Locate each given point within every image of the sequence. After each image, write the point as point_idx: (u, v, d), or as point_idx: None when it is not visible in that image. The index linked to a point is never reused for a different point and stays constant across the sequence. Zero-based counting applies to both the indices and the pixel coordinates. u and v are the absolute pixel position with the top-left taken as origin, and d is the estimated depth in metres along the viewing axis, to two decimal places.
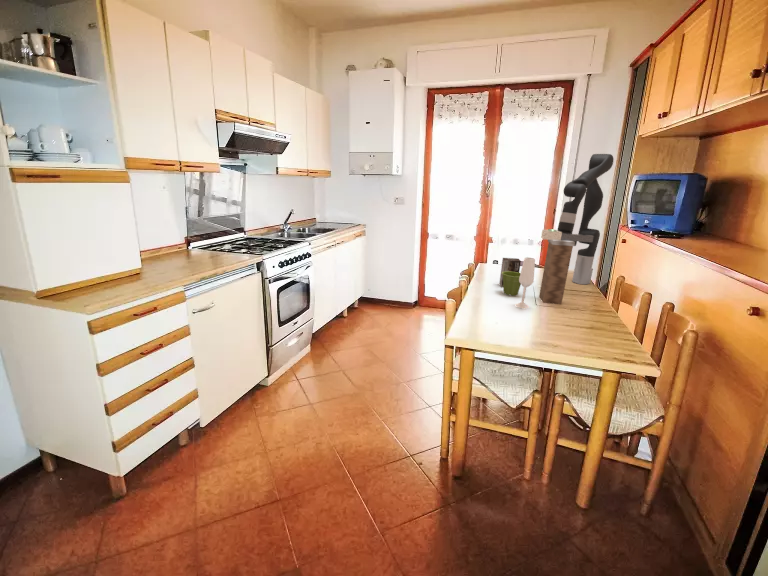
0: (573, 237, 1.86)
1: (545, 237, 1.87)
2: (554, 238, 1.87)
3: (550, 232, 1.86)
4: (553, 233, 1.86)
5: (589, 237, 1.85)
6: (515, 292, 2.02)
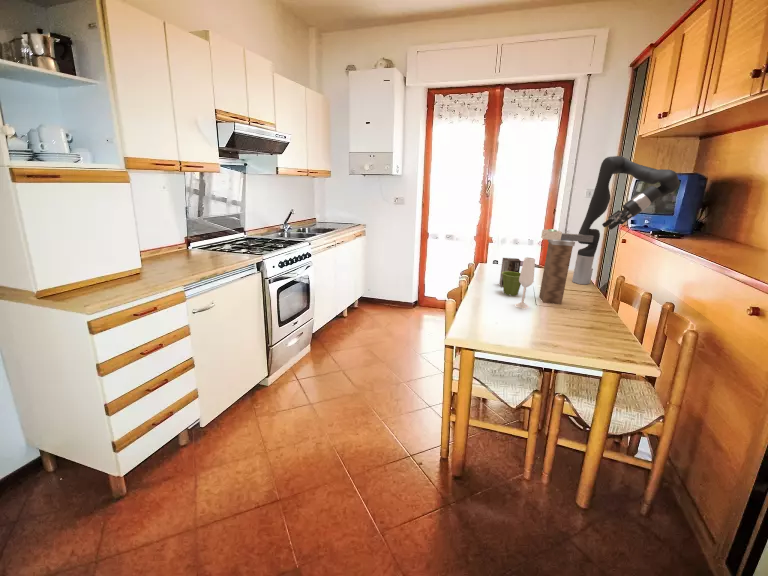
0: (573, 237, 1.86)
1: (545, 237, 1.87)
2: (554, 238, 1.87)
3: (550, 232, 1.86)
4: (553, 233, 1.86)
5: (589, 237, 1.85)
6: (515, 292, 2.02)
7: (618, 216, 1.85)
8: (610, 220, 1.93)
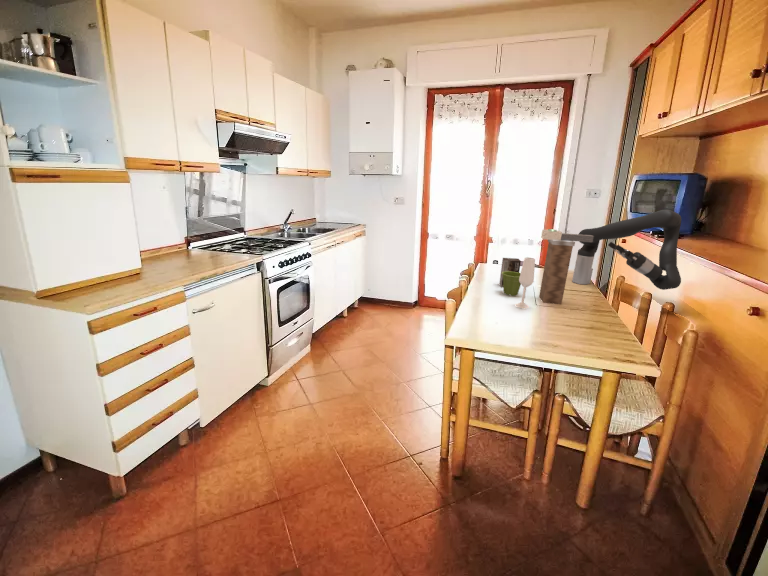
0: (573, 237, 1.86)
1: (545, 237, 1.87)
2: (554, 238, 1.87)
3: (550, 232, 1.86)
4: (553, 233, 1.86)
5: (589, 237, 1.85)
6: (515, 292, 2.02)
7: None
8: None
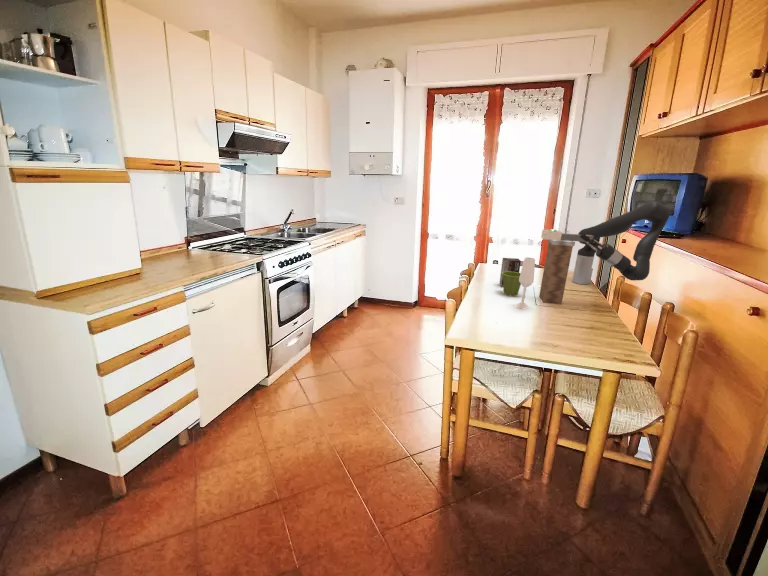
0: (573, 237, 1.86)
1: (545, 237, 1.87)
2: (554, 238, 1.87)
3: (550, 232, 1.86)
4: (553, 233, 1.86)
5: (589, 237, 1.85)
6: (515, 292, 2.02)
7: (595, 240, 1.85)
8: None
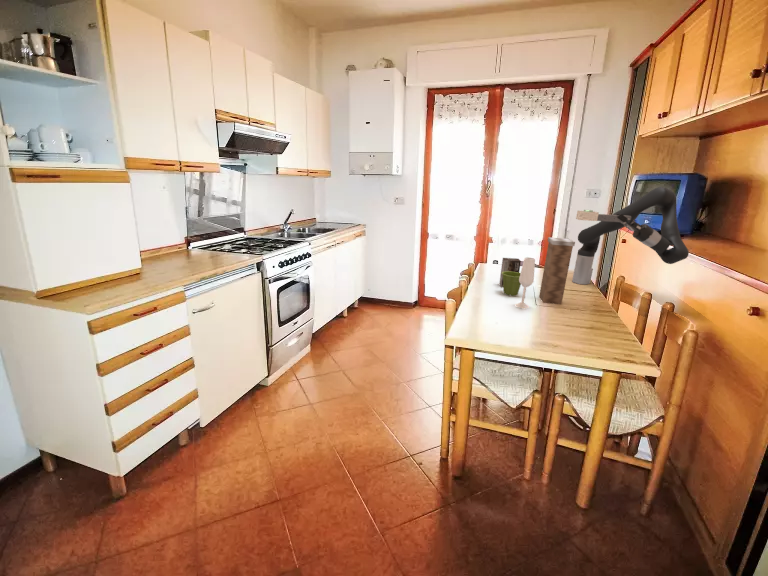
0: (610, 218, 1.81)
1: (581, 218, 1.82)
2: (590, 219, 1.81)
3: (586, 212, 1.81)
4: (589, 213, 1.81)
5: (627, 217, 1.80)
6: (515, 292, 2.02)
7: (633, 221, 1.79)
8: None
